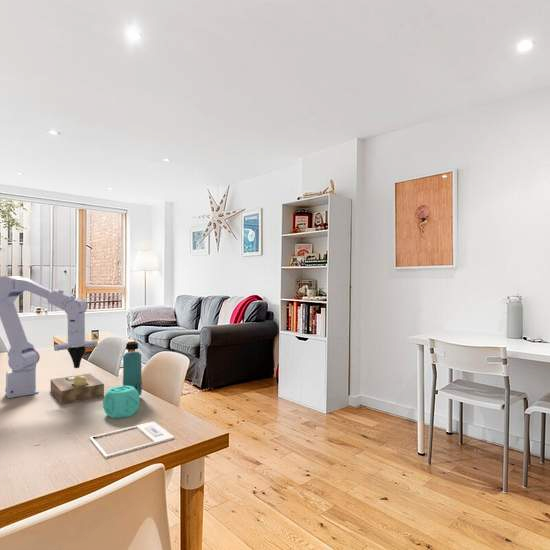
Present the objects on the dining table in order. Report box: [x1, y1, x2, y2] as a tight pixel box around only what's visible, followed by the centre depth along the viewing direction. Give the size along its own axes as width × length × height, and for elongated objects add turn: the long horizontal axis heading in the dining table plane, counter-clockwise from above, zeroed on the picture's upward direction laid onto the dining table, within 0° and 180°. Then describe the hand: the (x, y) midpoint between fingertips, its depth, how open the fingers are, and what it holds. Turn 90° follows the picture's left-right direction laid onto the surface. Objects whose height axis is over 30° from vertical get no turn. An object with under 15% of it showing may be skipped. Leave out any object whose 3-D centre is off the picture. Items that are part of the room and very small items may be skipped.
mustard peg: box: [74, 376, 86, 387], centre depth 143 cm, size 4×4×4 cm
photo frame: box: [88, 421, 176, 459], centre depth 107 cm, size 15×1×18 cm
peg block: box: [50, 373, 105, 405], centre depth 147 cm, size 14×19×4 cm
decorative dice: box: [102, 385, 141, 419], centre depth 126 cm, size 8×8×8 cm
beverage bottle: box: [122, 341, 143, 396], centre depth 141 cm, size 6×7×20 cm
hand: (76, 367), depth 147 cm, fingers closed
